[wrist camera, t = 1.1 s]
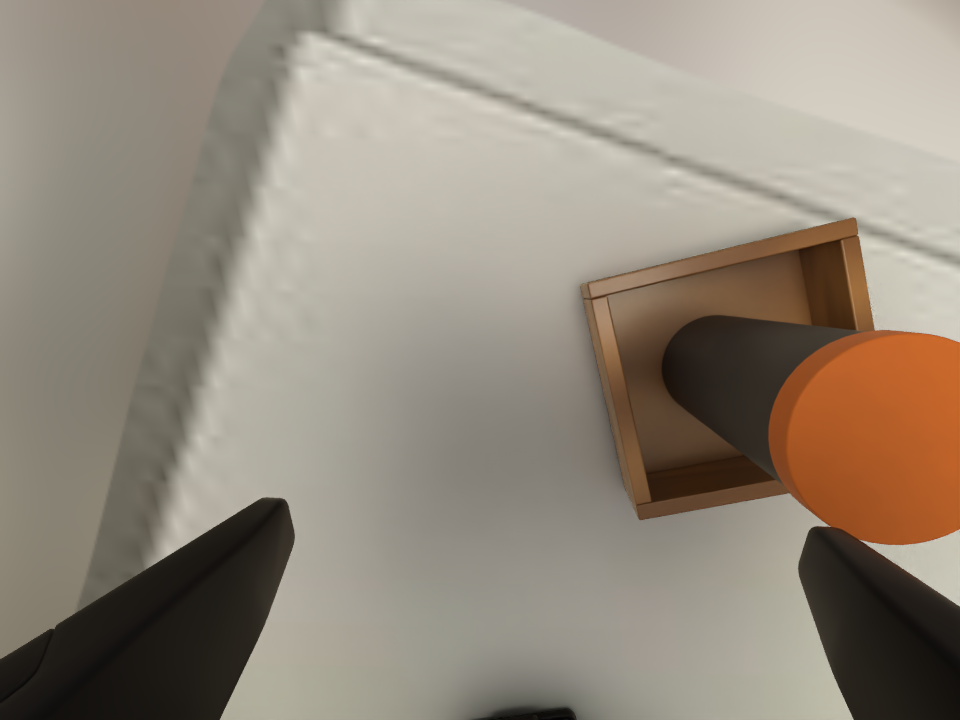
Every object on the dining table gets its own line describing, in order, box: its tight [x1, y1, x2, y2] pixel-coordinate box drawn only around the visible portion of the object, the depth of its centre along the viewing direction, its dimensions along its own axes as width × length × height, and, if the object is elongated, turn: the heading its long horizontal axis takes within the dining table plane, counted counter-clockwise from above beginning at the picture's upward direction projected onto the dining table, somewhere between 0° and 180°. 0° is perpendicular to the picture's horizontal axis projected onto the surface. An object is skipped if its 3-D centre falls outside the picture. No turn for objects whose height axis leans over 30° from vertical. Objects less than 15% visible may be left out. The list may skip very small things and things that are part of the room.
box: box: [580, 218, 875, 520], centre depth 23 cm, size 10×10×4 cm
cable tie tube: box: [662, 315, 960, 545], centre depth 18 cm, size 5×5×12 cm
